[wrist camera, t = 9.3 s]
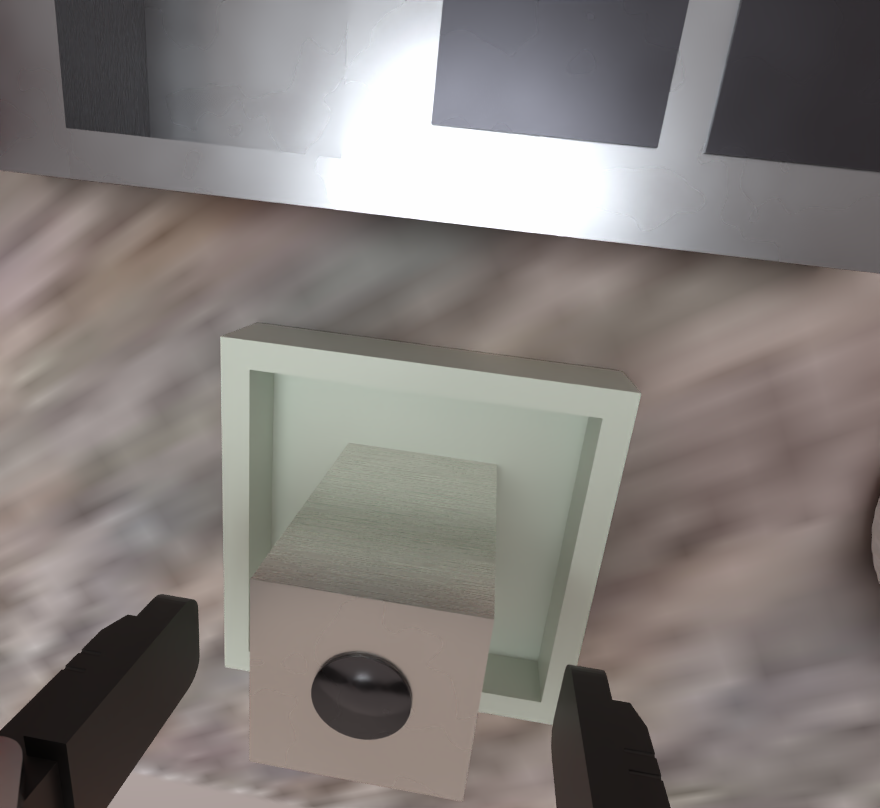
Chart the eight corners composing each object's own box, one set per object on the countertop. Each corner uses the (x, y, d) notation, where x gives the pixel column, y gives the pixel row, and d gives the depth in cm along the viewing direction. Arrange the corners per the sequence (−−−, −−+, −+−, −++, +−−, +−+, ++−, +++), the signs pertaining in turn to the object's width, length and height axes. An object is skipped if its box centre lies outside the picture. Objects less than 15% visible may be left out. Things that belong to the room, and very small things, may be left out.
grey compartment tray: (940, -104, 12) (1147, -262, 8) (821, 267, 15) (937, 280, 11) (6, -172, 14) (-193, -334, 10) (43, 175, 16) (-103, 158, 12)
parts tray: (622, 370, 16) (641, 393, 14) (555, 670, 19) (562, 726, 17) (257, 322, 17) (220, 336, 15) (254, 619, 20) (224, 667, 18)
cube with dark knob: (497, 464, 17) (493, 622, 10) (476, 591, 18) (462, 806, 11) (348, 442, 17) (247, 582, 10) (340, 569, 18) (247, 765, 12)
